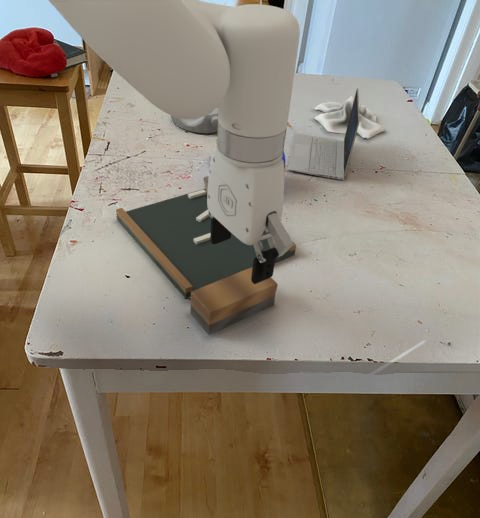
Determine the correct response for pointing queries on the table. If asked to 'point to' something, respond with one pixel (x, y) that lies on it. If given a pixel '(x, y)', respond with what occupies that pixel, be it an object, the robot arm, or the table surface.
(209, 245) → the slate board
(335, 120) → the cloth
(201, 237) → the chalk stroke
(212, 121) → the dish
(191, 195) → the off-white bar
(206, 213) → the chalk stroke
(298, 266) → the table surface
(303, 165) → the laptop
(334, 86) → the table surface
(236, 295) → the eraser
